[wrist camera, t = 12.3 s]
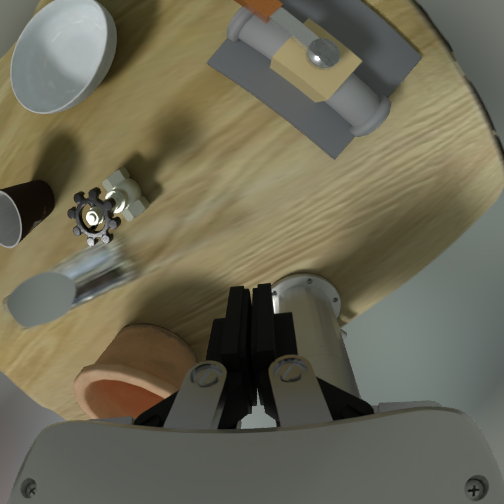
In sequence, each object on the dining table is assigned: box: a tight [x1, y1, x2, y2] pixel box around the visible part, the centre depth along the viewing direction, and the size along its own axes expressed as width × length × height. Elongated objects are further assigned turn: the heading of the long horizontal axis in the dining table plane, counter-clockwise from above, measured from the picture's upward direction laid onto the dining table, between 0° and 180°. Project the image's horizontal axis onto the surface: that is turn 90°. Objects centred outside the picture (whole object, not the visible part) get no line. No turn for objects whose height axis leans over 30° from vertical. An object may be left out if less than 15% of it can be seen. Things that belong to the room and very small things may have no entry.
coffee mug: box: [0, 180, 54, 248], centre depth 36 cm, size 12×9×10 cm
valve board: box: [207, 0, 422, 160], centre depth 27 cm, size 20×20×9 cm
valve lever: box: [234, 0, 341, 71], centre depth 22 cm, size 14×3×2 cm, turn 47°
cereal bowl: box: [10, 0, 117, 114], centre depth 28 cm, size 17×17×7 cm
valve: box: [68, 167, 150, 246], centre depth 35 cm, size 7×7×12 cm
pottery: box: [74, 324, 197, 419], centre depth 47 cm, size 22×22×14 cm
